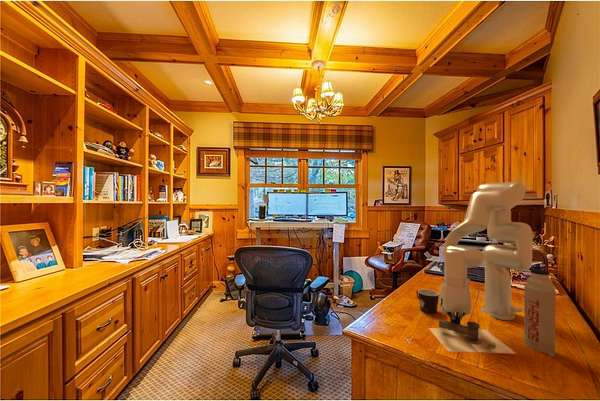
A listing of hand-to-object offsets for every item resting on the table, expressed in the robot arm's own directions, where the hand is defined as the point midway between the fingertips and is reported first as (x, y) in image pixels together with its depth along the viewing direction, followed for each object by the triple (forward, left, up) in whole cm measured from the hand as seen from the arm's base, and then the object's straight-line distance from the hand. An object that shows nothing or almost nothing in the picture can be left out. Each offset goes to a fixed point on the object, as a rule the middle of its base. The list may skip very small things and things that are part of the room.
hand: (455, 328), depth 103 cm
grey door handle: (-1, +6, 0) cm, 6 cm away
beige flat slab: (-2, +6, -3) cm, 7 cm away
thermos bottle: (-24, +9, -3) cm, 25 cm away
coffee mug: (+2, -20, -3) cm, 20 cm away
